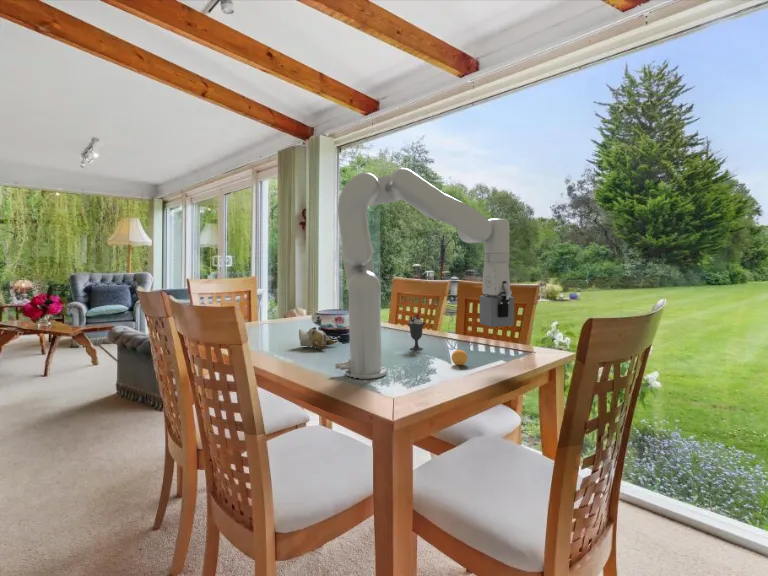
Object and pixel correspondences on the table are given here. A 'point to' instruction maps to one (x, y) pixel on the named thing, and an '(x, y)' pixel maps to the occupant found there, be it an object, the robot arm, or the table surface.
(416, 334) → the sundae
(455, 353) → the ball
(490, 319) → the grey matte cube
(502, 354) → the table surface
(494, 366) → the table surface
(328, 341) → the ceramic sculpture
